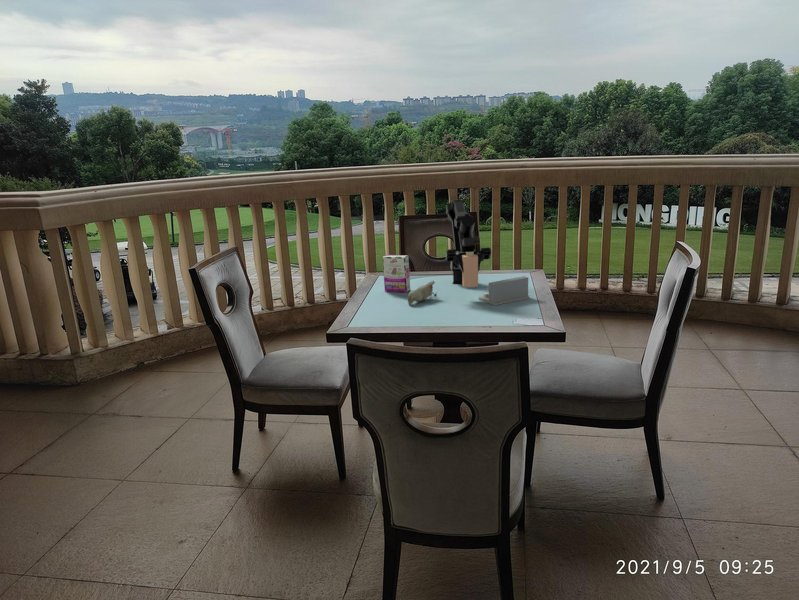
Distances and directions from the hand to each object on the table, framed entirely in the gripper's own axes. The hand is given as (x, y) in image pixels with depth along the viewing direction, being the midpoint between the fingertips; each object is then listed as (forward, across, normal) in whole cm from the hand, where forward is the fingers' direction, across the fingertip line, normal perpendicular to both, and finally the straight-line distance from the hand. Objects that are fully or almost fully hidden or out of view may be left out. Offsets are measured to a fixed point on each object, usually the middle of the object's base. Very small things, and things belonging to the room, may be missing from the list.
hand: (470, 271), depth 226 cm
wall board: (+9, +14, +9) cm, 19 cm away
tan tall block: (+4, 0, +6) cm, 7 cm away
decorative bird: (+7, -20, +12) cm, 25 cm away
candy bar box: (-6, -30, +25) cm, 40 cm away
